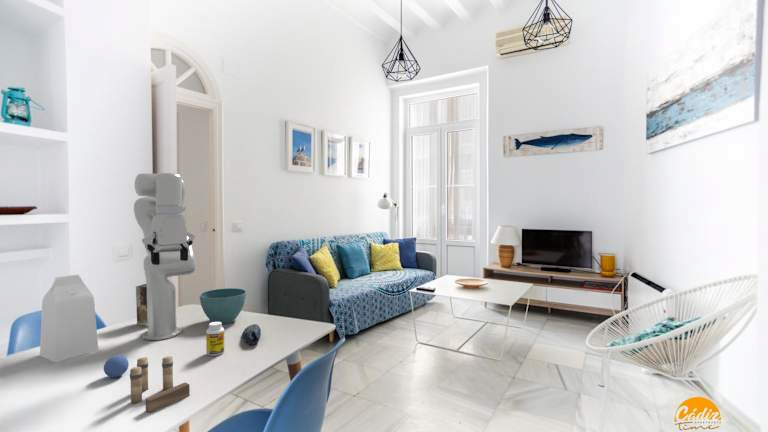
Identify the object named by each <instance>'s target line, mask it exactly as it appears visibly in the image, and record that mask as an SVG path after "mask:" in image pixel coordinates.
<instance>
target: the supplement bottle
mask: <svg viewBox="0 0 768 432" xmlns="http://www.w3.org/2000/svg"><path fill="white" fill-rule="evenodd" d="M205 333H206V336H205V337H206V339H205V341H206V342H205V343H206V355H207V356H210V357H214V356H220V355H222V354H224V352H225V328H224V327H223V324H222V323H221V322H212V321H211V322H210V323H209V324H208V328H207V329H206V332H205Z"/></svg>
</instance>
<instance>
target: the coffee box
mask: <svg viewBox="0 0 768 432" xmlns="http://www.w3.org/2000/svg"><path fill="white" fill-rule="evenodd" d="M135 303H136V306H135V307H136V324H137V325H140V326H146V324H147V323H148V317H147V284H146V283H145V284H141V285H136V286H135Z"/></svg>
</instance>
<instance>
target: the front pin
mask: <svg viewBox="0 0 768 432" xmlns="http://www.w3.org/2000/svg"><path fill="white" fill-rule="evenodd" d="M148 358H149V357H146V356H145V357H139V358H138V359H136V367H141V371H142V393H143V392H147V391H148V390H149V361H148ZM146 390H147V391H146Z"/></svg>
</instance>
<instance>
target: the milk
mask: <svg viewBox="0 0 768 432" xmlns="http://www.w3.org/2000/svg"><path fill="white" fill-rule="evenodd" d="M41 301H42V302H41V317H40V318H41V322H40V323H41V324H40V342H39V343H40V345H39V356H41V357H43V358H45V359H46V360H49V361H51V362H53V363H58V362H63V361H65V360H69V359H73V358H76V357H79V356H83V355H86V354H89V353H92V352H96V351H99V341H98V330H97V329H98V328H97V320H96V318H97V317H96V305H95V298H94V295H93V293H92V291H91V290H90V289H89V288H88V287H87V285H86V283H85V282H84V281H83V279H82V278H81V276H80V274H71V275H64V276H63V275H62V276H57V277H55V279H54V281H53V282H52V285H51V287H50V288H49V289H48V291H46V293H45V295H44V296H43V298H42V300H41Z"/></svg>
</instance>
